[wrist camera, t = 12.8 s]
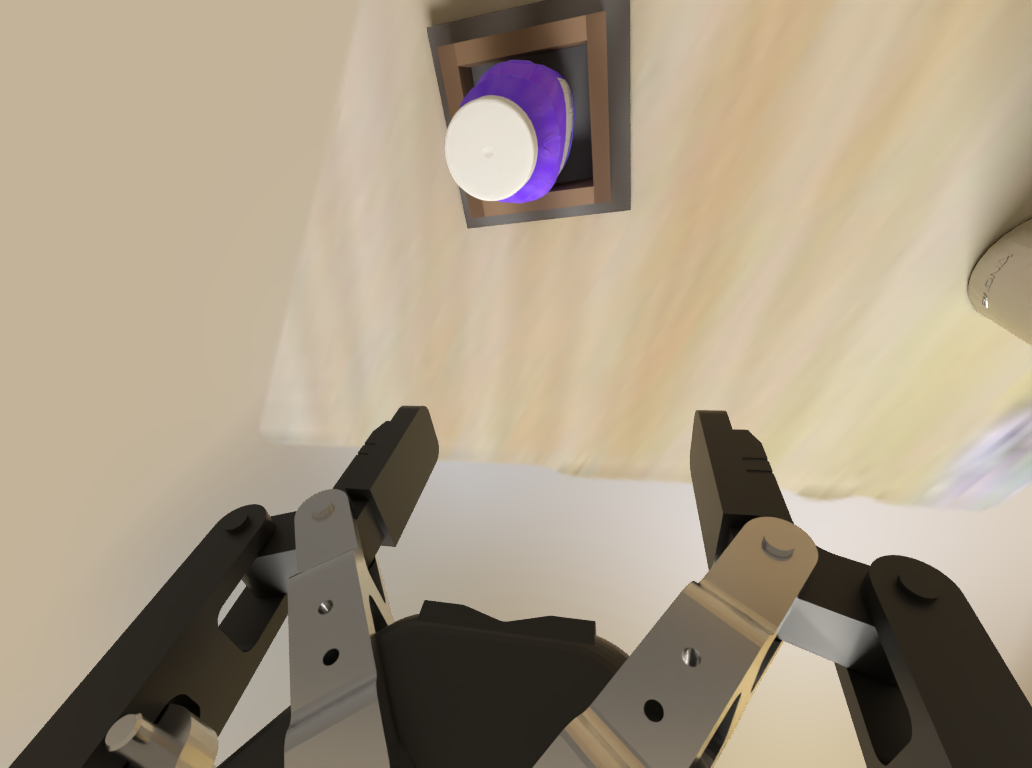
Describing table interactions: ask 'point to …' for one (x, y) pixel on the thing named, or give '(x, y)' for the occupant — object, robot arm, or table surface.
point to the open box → (595, 86)
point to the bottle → (512, 133)
